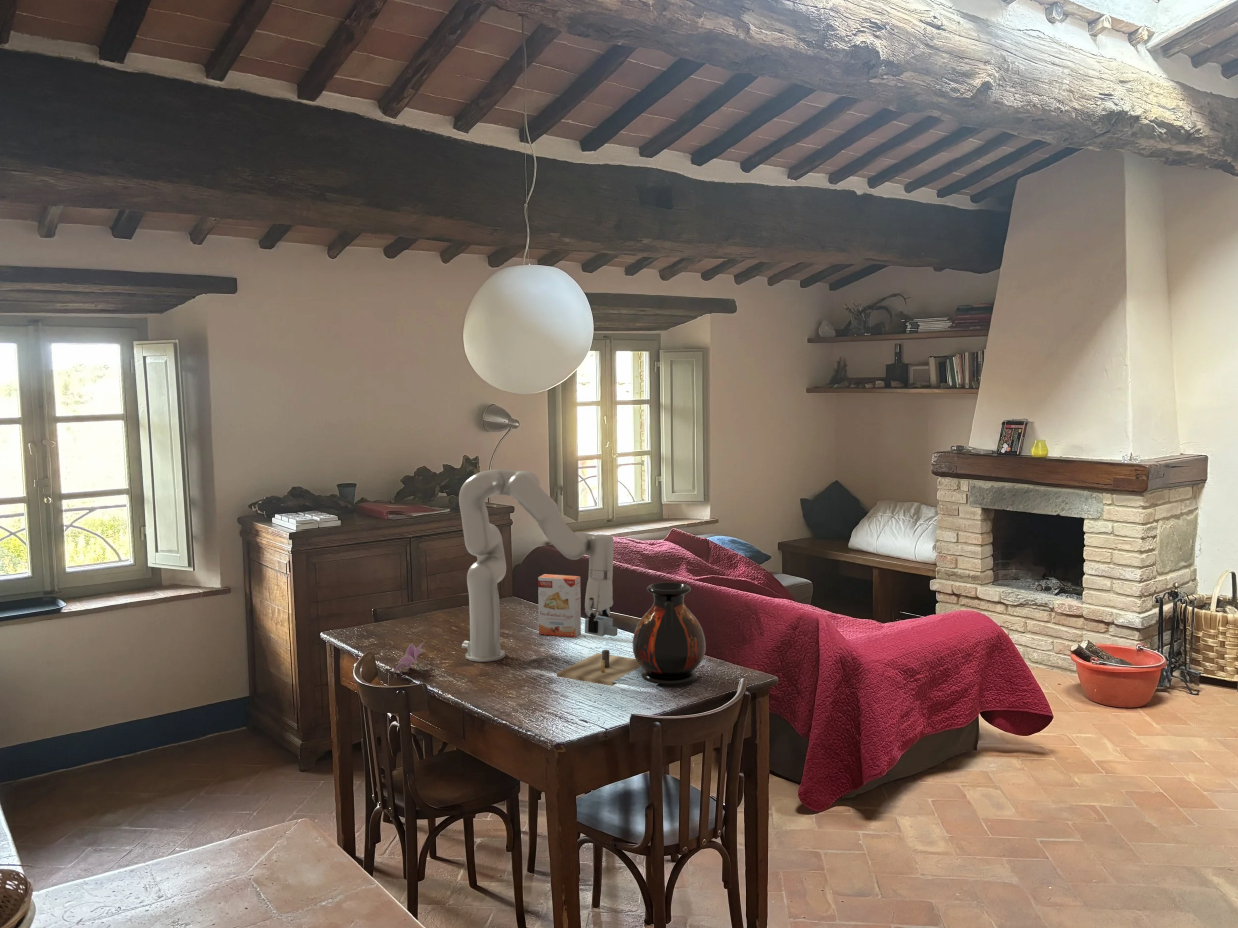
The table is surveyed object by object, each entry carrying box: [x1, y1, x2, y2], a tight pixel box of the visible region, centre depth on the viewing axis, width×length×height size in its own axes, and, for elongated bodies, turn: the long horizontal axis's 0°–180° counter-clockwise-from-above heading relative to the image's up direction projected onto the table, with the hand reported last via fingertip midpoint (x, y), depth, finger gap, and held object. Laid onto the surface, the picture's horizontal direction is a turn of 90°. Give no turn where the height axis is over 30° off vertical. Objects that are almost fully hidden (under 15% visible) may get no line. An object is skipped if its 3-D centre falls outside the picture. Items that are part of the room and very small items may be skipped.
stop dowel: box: [601, 660, 605, 673], centre depth 278 cm, size 1×1×4 cm
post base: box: [556, 649, 641, 687], centre depth 284 cm, size 19×24×6 cm
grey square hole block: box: [584, 615, 618, 637], centre depth 292 cm, size 9×6×4 cm
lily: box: [393, 641, 426, 674], centre depth 283 cm, size 12×12×10 cm
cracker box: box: [537, 573, 582, 638], centre depth 326 cm, size 14×6×21 cm, turn 72°
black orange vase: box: [632, 582, 707, 688], centre depth 273 cm, size 22×22×28 cm
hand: (598, 629), depth 293 cm, fingers closed on grey square hole block, 6 cm apart
